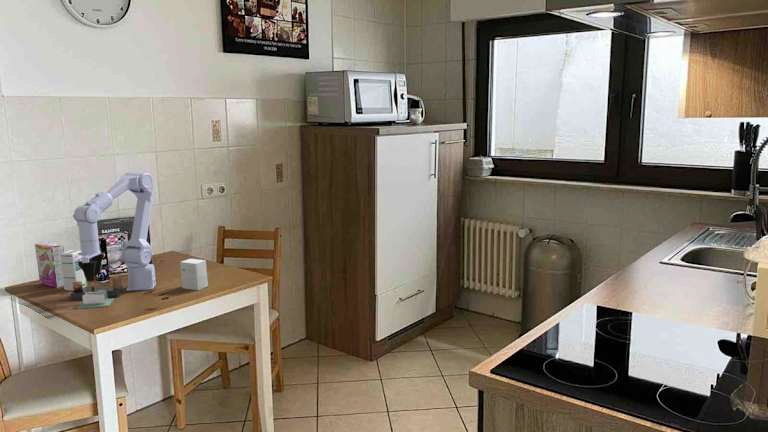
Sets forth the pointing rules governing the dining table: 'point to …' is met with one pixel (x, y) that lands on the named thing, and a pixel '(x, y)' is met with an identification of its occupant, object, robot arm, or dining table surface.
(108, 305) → the rubber mat
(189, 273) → the small box
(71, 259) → the syrup box
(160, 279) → the dining table surface
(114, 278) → the plane body
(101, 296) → the lever cap
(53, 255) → the candy bar box
